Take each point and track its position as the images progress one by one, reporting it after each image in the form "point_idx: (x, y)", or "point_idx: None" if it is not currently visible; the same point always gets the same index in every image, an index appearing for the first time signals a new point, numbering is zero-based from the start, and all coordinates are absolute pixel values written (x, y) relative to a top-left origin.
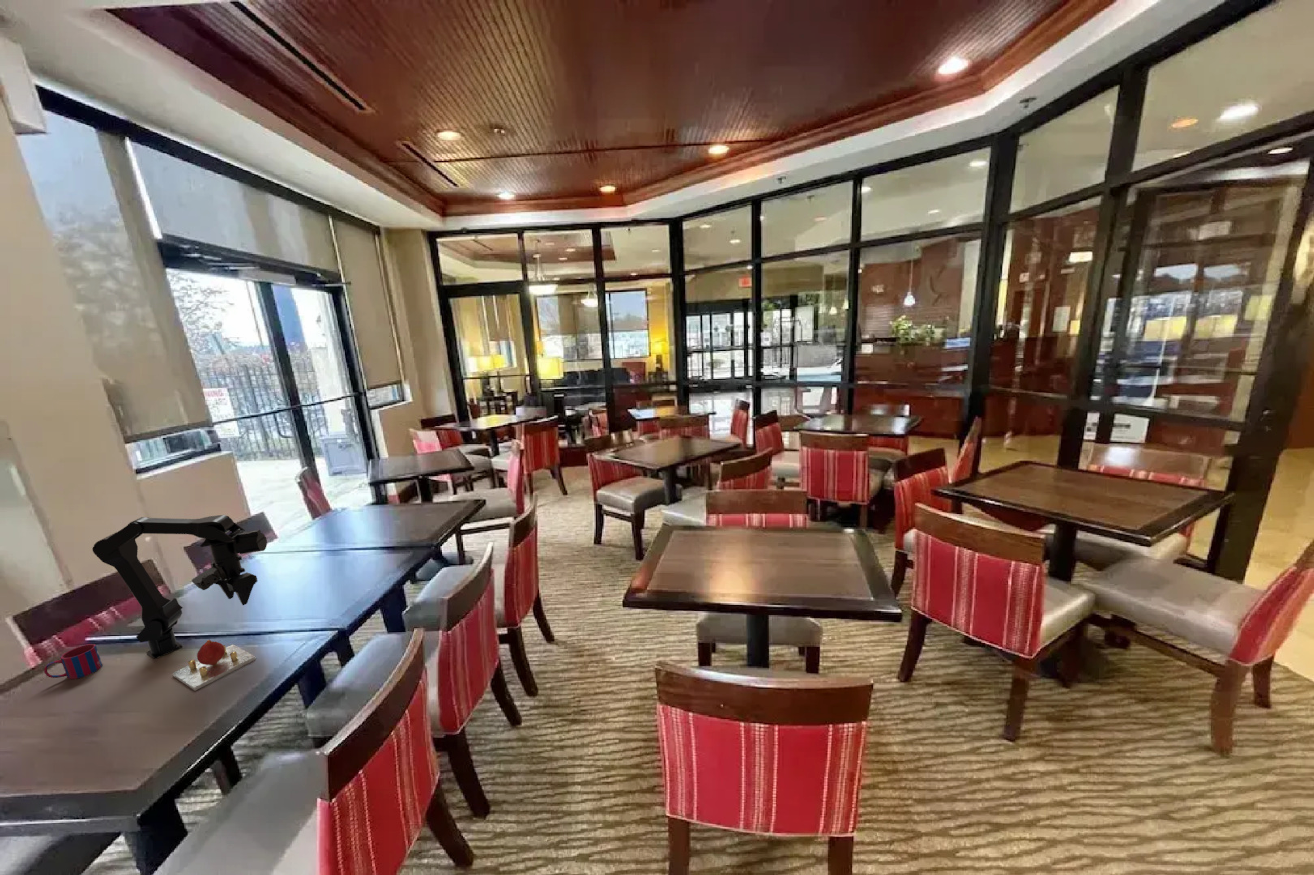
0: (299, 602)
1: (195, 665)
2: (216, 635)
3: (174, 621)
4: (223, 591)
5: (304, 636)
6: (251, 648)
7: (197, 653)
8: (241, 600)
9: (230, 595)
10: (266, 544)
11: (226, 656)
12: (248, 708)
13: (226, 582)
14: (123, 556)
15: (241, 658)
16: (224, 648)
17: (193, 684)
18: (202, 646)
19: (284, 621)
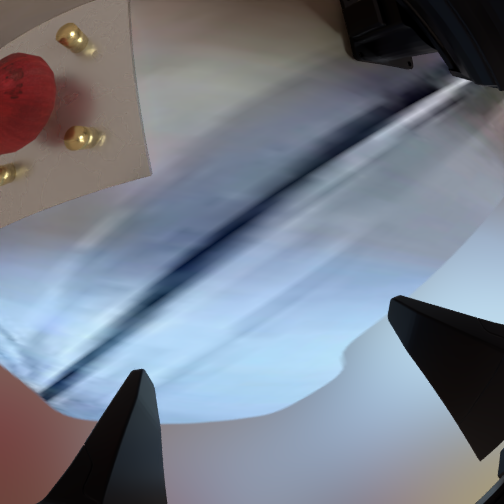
0: (307, 375)
1: (66, 47)
2: (338, 151)
3: (440, 35)
4: (463, 315)
5: (48, 352)
6: (79, 226)
7: (10, 54)
8: (106, 413)
9: (404, 323)
10: None
11: (60, 145)
12: None
13: (494, 397)
14: None
15: (7, 192)
16: (6, 153)
17: None
18: None
19: (209, 340)
